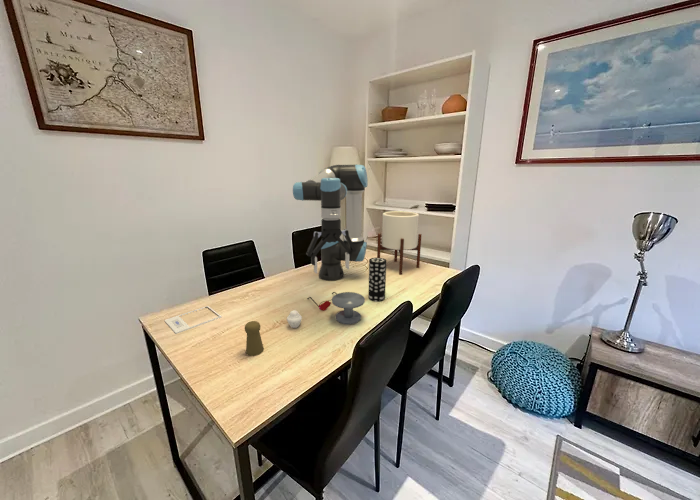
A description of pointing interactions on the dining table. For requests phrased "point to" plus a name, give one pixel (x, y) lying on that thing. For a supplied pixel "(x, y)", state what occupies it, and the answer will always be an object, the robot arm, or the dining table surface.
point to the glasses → (323, 304)
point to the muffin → (294, 319)
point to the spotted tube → (377, 279)
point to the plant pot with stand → (400, 234)
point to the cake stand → (348, 307)
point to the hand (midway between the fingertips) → (331, 270)
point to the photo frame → (180, 325)
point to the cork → (253, 339)
